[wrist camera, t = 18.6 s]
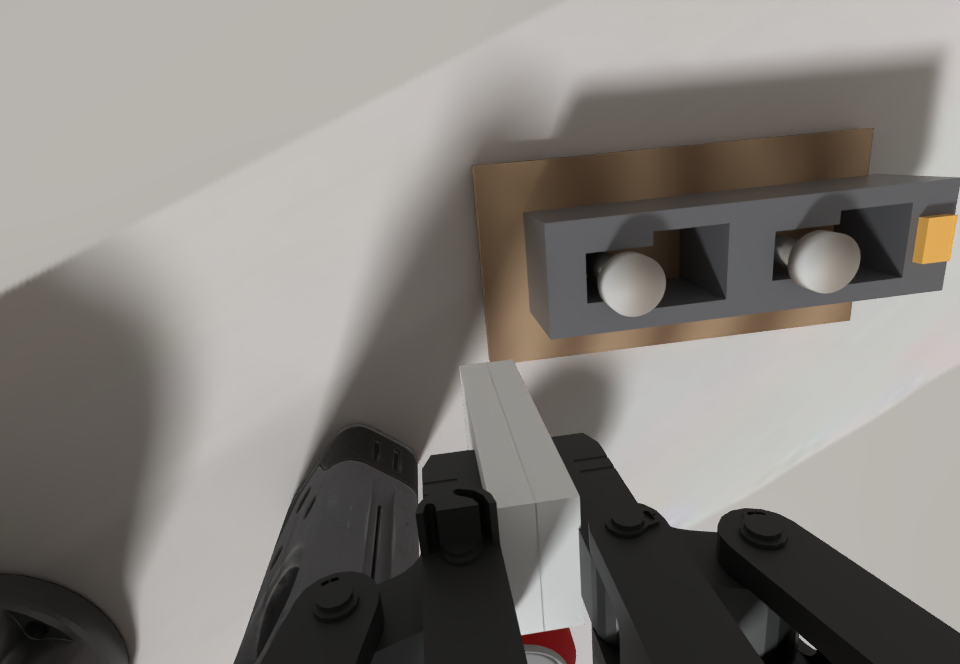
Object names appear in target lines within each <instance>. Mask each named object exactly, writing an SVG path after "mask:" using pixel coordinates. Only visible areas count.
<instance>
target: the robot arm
mask: <svg viewBox="0 0 960 664" xmlns="http://www.w3.org/2000/svg"><path fill="white" fill-rule="evenodd" d="M459 368H460V378H461V387H462V396H463V406H464V415H465V424H466V433H467V443H468V450H467V451H460V452H452V453H445V454H438V455H431V456H430V458H429V459H428V461H427V462H426V464H425V465H424V467H423V468H422V481H423V500H422V501H421V502H420V503H419V504H418V507H417V510H416V513H415V516H416V522H417V529H418V536H419V543H420V550H421V555H420V557H419V558H418V560H417V561H416V562H415V563H414V564H413V565H412V566H411V567H410V568H408V569H407V570H406V571H404V572H403V573H401V574H399V575H397V576H395V577H394V578H392V579H389V580H387V581H384V582H382V583H379V584H376V582H375V580H374V579H372V578H371V577H369V576H368V575H366V574H365V573H359V572H353V571H347V572H339V573H334V574H331V575H328V576H326V577H323V578H321V579H318V580H317V581H316V582H314V583H313V584H311V585H310V586H309V587H307V588H306V589H305V590H304V591H303V592H302V593H301V594H300V596H299V597H298V598H297V599H296V601H295V602H294V604H293V606H292V607H291V609H290V611H289V613H288V615H287V616H286V618H285V620H284V622H283V624H282V625H281V627H280V629H279V631H278V632H277V634H276V636H275V638H274V640H273V641H272V643H271V645H270V647H269V649H268V650H267V652H266V654H265V656H264V657H263V659H262V661H261V663H260V664H528V663H527V658H526V654H525V650H524V645H523V641H522V637H521V635H526V634H532V633H538V632H544V631H550V630H556V629H562V628H568V627H573V626H580V625H584V624H585V623H584V621H585V620H584V604H585V607H586V609H587V611H588V615H589V617H590V620H591V622H592V646H593V647H592V649H593V664H960V633H959V632H957V631H956V630H954V629H953V628H951V627H950V626H948V625H947V624H945V623H944V622H942V621H941V620H940V619H938V618H937V617H935V616H934V615H932V614H931V613H929V612H927V611H926V610H925V609H923V608H922V607H920V606H919V605H917V604H915V603H914V602H913V601H911V600H910V599H908V598H907V597H905V596H904V595H902V594H901V593H899V592H898V591H896V590H895V589H893V588H892V587H890V586H889V585H887V584H886V583H884V582H883V581H881V580H880V579H878V578H877V577H875V576H874V575H872V574H871V573H869V572H867V570H865V569H863V568H862V567H861V566H859V565H857V564H856V563H855V562H853V561H852V560H850V559H848V558H847V557H846V556H844V555H842V554H841V553H839V552H838V551H837V550H835V549H833V548H832V547H831V546H829V545H828V544H826V543H825V542H823V541H822V540H820V539H819V538H817V537H816V536H814V535H813V534H811V533H810V532H808V531H807V530H805V529H804V528H802V527H801V526H799V525H798V524H796V523H795V522H793V521H792V520H790V519H787V518H786V517H784V516H782V515H780V514H777V513H774V512H770V511H766V510H762V509H750V508H744V509H738V510H733V511H730V512H728V513H727V514H725V515H724V516H722V517H721V519H720V522H719V523H718V530H717V532H704V531H691V530H684V529H677V528H673V527H670V526H669V524H668V523H667V521H666V520H665V518H664V517H662V516H661V515H660V514H659V513H658V512H657V511H656V510H654V509H652V508H650V507H648V506H646V505H644V504H640V503H637V501H636V500H635V498H634V497H633V495H632V494H631V492H630V491H629V489H628V487H627V486H626V484H625V483H624V481H623V480H622V478H621V477H620V475H619V473H618V472H617V470H616V469H614V466H613V464H612V463H611V461H610V460H609V458H607V455H606V453H605V452H604V450H603V449H602V447H601V446H600V444H599V443H598V442H597V441H595V440H593V439H592V438H590V437H589V436H587V435H585V434H584V433H579V434H571V435H564V436H557V437H551V436H550V434H549V432H548V430H547V428H546V426H545V424H544V422H543V420H542V418H541V416H540V414H539V412H538V410H537V408H536V406H535V404H534V402H533V400H532V398H531V396H530V394H529V391H528V389H527V387H526V385H525V383H524V381H523V379H522V377H521V375H520V373H519V371H518V369H517V367H516V365H515V363H514V361H513V359H511V360H503V361H495V362H487V363H479V364H471V365H463V366H459ZM799 634H800V635H801V636H802V637H803V638H804V639H806V640H807V641H808V642H809V643H810V644H811V645H813V646H814V647H815V648H816V649H817V650H814V649H812V648H811V647H809V646H808V645H807V644H805V643H804V642H803V641H802V640H801V639H800V638H799ZM0 664H129V659H128V654H127V650H126V647H125V644H124V642H123V640H122V638H121V636H120V634H119V633H118V631H117V629H116V628H115V627H114V625H113V624H112V623H111V622H110V620H109V619H108V618H107V617H106V616H105V615H104V614H103V613H102V612H101V611H100V610H98V609H97V608H96V607H95V606H94V605H92V604H91V603H89V602H88V601H87V600H85V599H83V598H82V597H80V596H78V595H77V594H75V593H73V592H71V591H69V590H67V589H65V588H62V587H60V586H57V585H55V584H52V583H49V582H46V581H42V580H39V579H34V578H30V577H24V576H18V575H9V574H0Z"/></svg>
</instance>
